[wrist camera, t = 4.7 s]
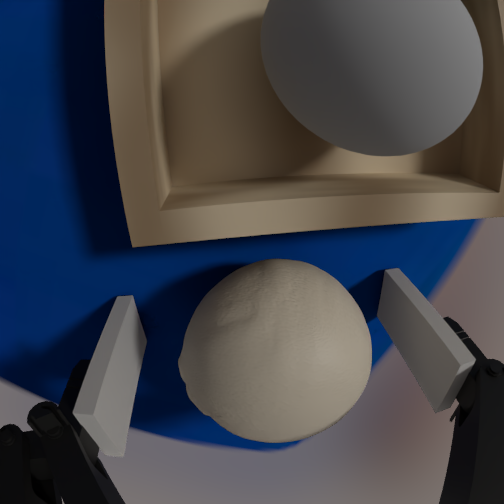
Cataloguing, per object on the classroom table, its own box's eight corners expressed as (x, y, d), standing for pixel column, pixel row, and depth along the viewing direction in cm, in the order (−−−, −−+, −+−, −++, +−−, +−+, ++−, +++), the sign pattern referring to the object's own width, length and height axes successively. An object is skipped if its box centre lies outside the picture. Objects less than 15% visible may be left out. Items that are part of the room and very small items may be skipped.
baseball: (152, 296, 14) (121, 420, 8) (290, 200, 13) (352, 296, 7) (241, 377, 17) (252, 486, 11) (359, 308, 15) (418, 411, 9)
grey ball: (255, 143, 11) (293, 187, 5) (245, -17, 8) (271, -112, 3) (407, 142, 11) (522, 186, 6) (401, 0, 8) (509, -34, 3)
